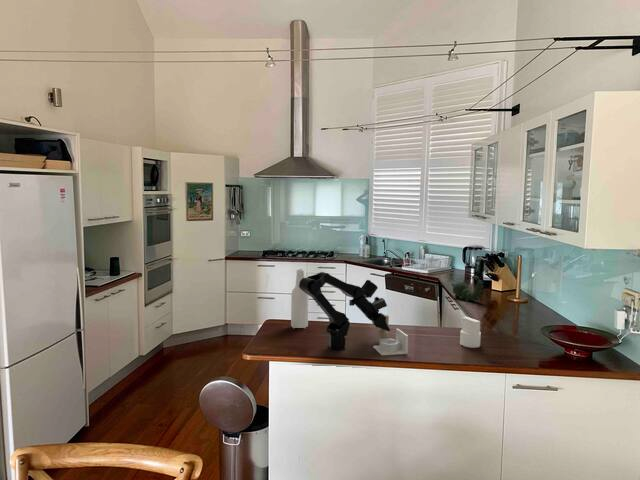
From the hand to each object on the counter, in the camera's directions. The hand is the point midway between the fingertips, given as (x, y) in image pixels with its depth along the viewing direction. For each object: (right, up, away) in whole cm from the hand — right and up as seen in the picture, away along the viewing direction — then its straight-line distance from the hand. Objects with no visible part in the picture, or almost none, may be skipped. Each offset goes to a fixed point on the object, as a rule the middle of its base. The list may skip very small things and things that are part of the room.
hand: (386, 327), depth 212 cm
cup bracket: (-1, -8, -12) cm, 14 cm away
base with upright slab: (+39, -8, -1) cm, 40 cm away
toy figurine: (+67, +1, +93) cm, 115 cm away
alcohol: (-42, -4, +22) cm, 48 cm away
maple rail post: (-1, -7, 0) cm, 7 cm away
